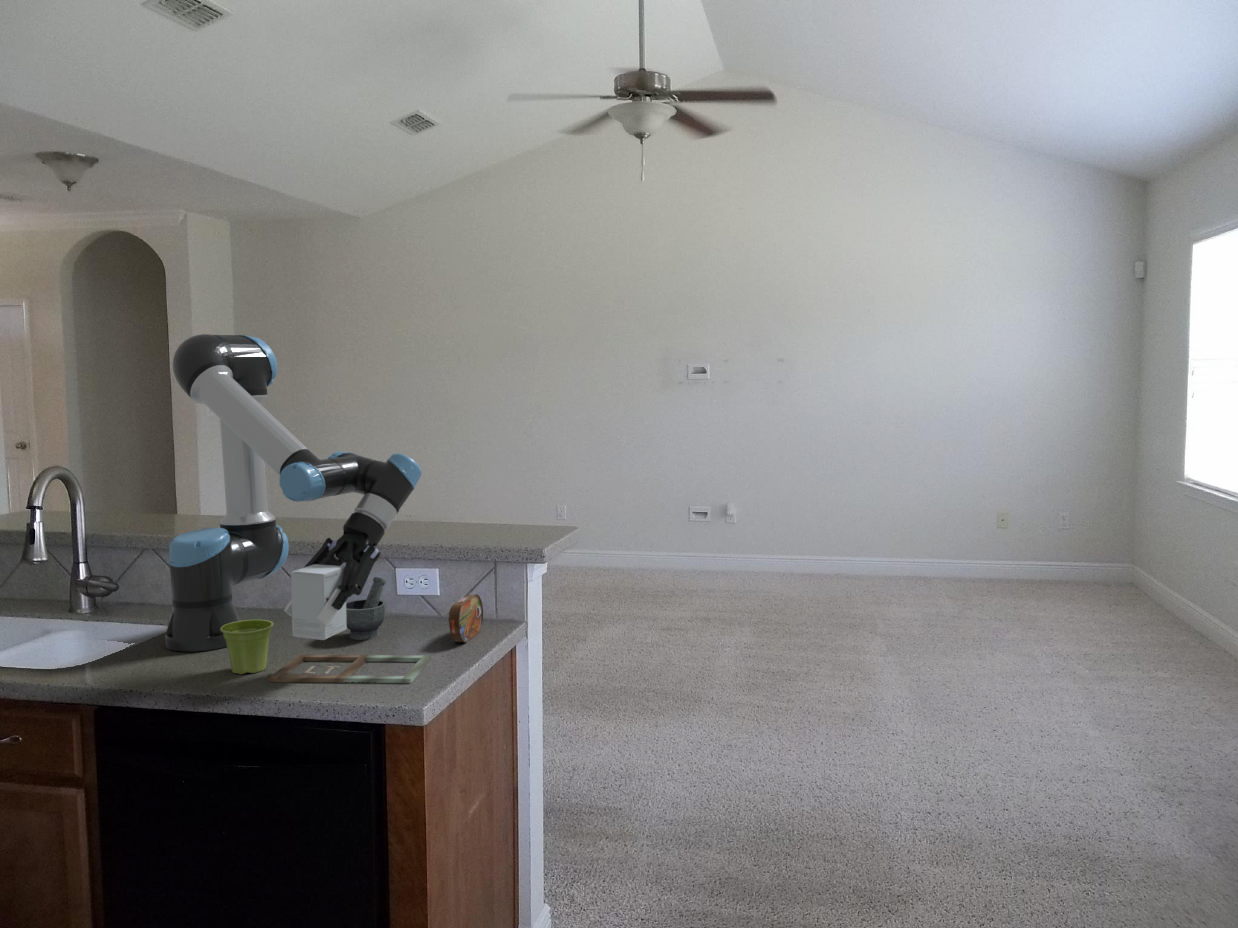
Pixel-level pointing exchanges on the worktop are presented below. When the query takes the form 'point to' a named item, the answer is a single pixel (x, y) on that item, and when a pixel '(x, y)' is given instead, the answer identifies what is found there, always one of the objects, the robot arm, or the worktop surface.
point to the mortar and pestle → (367, 613)
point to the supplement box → (315, 601)
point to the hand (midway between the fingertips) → (305, 618)
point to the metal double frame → (350, 669)
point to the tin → (466, 618)
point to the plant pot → (247, 644)
